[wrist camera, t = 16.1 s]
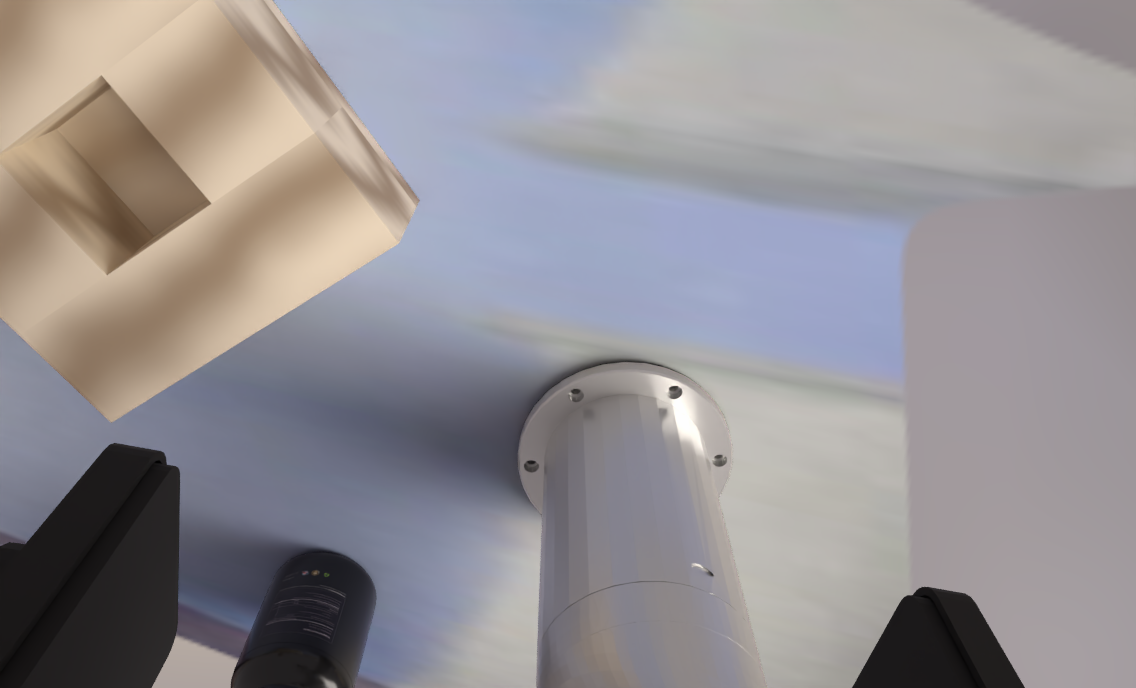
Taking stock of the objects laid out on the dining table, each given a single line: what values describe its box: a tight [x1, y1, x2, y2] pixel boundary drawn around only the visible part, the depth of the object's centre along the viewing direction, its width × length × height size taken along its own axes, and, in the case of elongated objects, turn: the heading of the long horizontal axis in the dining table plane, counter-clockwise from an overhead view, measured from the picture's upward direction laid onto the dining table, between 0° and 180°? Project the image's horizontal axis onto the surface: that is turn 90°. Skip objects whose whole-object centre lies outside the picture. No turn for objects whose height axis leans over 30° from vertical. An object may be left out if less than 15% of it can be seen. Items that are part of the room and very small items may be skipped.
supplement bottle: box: [231, 552, 376, 688], centre depth 50 cm, size 7×7×12 cm
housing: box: [0, 0, 420, 423], centre depth 39 cm, size 18×18×6 cm
